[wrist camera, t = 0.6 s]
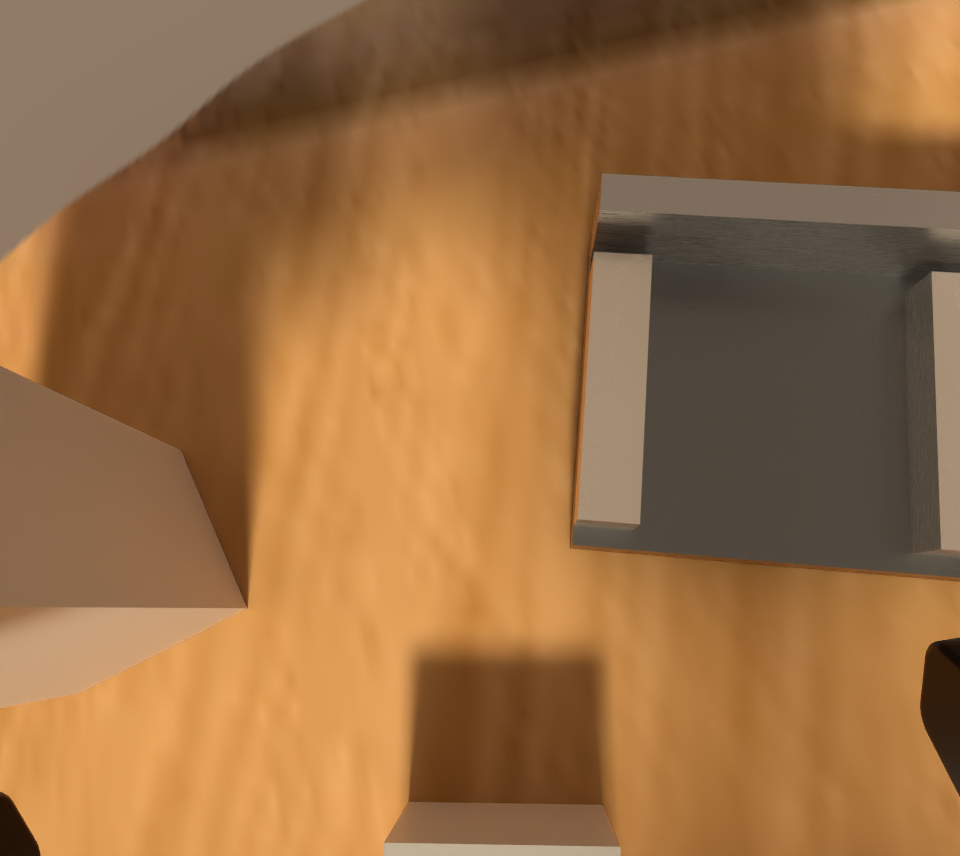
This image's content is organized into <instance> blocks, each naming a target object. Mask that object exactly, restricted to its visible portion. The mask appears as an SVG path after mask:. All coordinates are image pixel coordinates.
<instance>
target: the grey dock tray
mask: <svg viewBox="0 0 960 856" xmlns="http://www.w3.org/2000/svg"><path fill="white" fill-rule="evenodd" d="M570 548H573V549H585V550H596V551H608V552H620V553H632V554H643V555H655V556H667V557H679V558H690V559H702V560H714V561H725V562H737V563H749V564H761V565H772V566H784V567H796V568H808V569H819V570H831V571H843V572H855V573H866V574H878V575H890V576H901V577H913V578H925V579H937V580H948V581H960V192H955V191H936V190H916V189H897V188H877V187H858V186H839V185H819V184H800V183H781V182H761V181H742V180H722V179H703V178H684V177H664V176H645V175H626V174H606V173H602V177H601V183H600V188H599V194H598V200H597V205H596V211H595V216H594V222H593V228H592V233H591V239H590V245H589V261H588V276H587V292H586V307H585V323H584V338H583V354H582V369H581V385H580V401H579V416H578V432H577V447H576V463H575V478H574V494H573V510H572V525H571V541H570Z"/></svg>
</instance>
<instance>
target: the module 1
mask: <svg viewBox="0 0 960 856" xmlns="http://www.w3.org/2000/svg"><path fill="white" fill-rule="evenodd" d="M245 609H247V606H246V604H245V601H244V599H243V597H242V594H241V592H240V589H239V587H238V585H237V582H236V580H235V578H234V575H233V573H232V570H231V568H230V566H229V563H228V561H227V559H226V556H225V554H224V551H223V549H222V547H221V544H220V542H219V540H218V537H217V535H216V532H215V530H214V528H213V525H212V523H211V520H210V518H209V516H208V513H207V511H206V509H205V506H204V504H203V501H202V499H201V497H200V494H199V492H198V490H197V487H196V485H195V482H194V480H193V478H192V475H191V473H190V471H189V468H188V466H187V463H186V461H185V459H184V456H183V454H182V452H181V450H180V449H178V448H176V447H173V446H171V445H169V444H167V443H165V442H163V441H160V440H158V439H156V438H154V437H152V436H150V435H148V434H145V433H143V432H141V431H139V430H137V429H135V428H133V427H130V426H128V425H126V424H124V423H122V422H120V421H118V420H115V419H113V418H111V417H109V416H107V415H105V414H103V413H100V412H98V411H96V410H94V409H92V408H90V407H87V406H85V405H83V404H81V403H79V402H77V401H75V400H72V399H70V398H68V397H66V396H64V395H62V394H60V393H57V392H55V391H53V390H51V389H49V388H47V387H45V386H42V385H40V384H38V383H36V382H34V381H32V380H29V379H27V378H25V377H23V376H21V375H19V374H17V373H14V372H12V371H10V370H8V369H6V368H4V367H2V366H0V708H3V707H9V706H14V705H19V704H25V703H30V702H35V701H41V700H46V699H51V698H57V697H62V696H67V695H73V694H78V693H82V692H84V691H86V690H88V689H90V688H92V687H94V686H96V685H98V684H99V683H101V682H103V681H105V680H107V679H109V678H111V677H113V676H115V675H117V674H119V673H121V672H123V671H125V670H127V669H129V668H131V667H133V666H135V665H137V664H139V663H141V662H143V661H145V660H147V659H149V658H151V657H153V656H155V655H157V654H159V653H161V652H162V651H164V650H166V649H168V648H170V647H172V646H174V645H176V644H178V643H180V642H182V641H184V640H186V639H188V638H190V637H192V636H194V635H196V634H198V633H200V632H202V631H204V630H206V629H208V628H210V627H212V626H214V625H216V624H218V623H220V622H222V621H224V620H225V619H227V618H229V617H231V616H233V615H235V614H237V613H239V612H241V611H243V610H245Z"/></svg>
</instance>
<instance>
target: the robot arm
mask: <svg viewBox="0 0 960 856" xmlns="http://www.w3.org/2000/svg"><path fill="white" fill-rule="evenodd" d="M920 709H921V716H922V720H923V723H924V726H925V729H926V731H927V733H928V735H929V737H930V739H931V741H932V743H933V745H934V747H935V749H936V751H937V753H938V755H939V757H940V759H941V761H942V763H943V765H944V767H945V769H946V771H947V773H948V775H949V777H950V779H951V781H952V782H953V784H954V786H955V788H956V790H957V792H958V794H959V796H960V638H955V639H948V640H942V641H936V642H934V643H932V644H931V645H930V646H929V647H928V649H927V651H926V655H925V664H924V673H923V683H922V692H921V701H920ZM0 856H40V850H39V846H38V844H37V842H36V840H35V838H34V836H33V835H32V833H31V831H30V830H29V828H28V826H27V825H26V823H25V821H24V819H23V818H22V816H21V814H20V813H19V811H18V809H17V808H16V806H15V804H14V802H13V801H12V799H11V798H10V797H9V796H8V795H6V794H4V793H2V792H0Z"/></svg>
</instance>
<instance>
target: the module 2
mask: <svg viewBox="0 0 960 856" xmlns="http://www.w3.org/2000/svg"><path fill="white" fill-rule="evenodd" d="M384 856H620V845H619V843H618V840H617V838H616V835H615V833H614V831H613V828H612V826H611V823H610V821H609V818H608V816H607V814H606V811H605V809H604V806H603V805H587V804H521V803H455V802H408V804H407V805H406V807H405V809H404V810H403V812H402V814H401V815H400V817H399V819H398V820H397V822H396V824H395V825H394V827H393V829H392V830H391V832H390V834H389V835H388V837H387V839H386V840H385V842H384Z"/></svg>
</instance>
